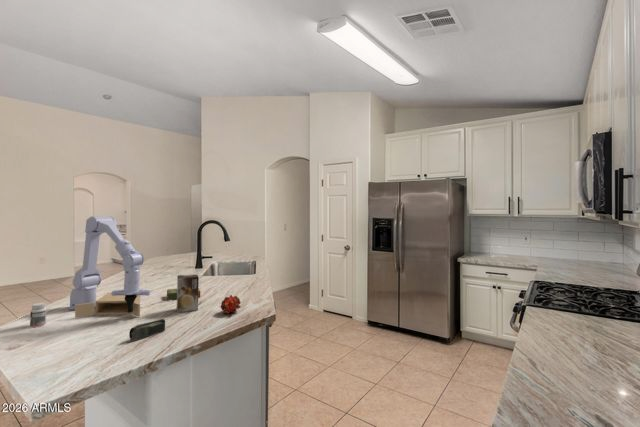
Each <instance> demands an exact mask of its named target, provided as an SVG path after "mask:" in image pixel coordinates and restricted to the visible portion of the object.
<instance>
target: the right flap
mask: <svg viewBox="0 0 640 427" xmlns="http://www.w3.org/2000/svg"><path fill="white" fill-rule="evenodd" d="M129 315H132V316H135V317H138V318H140V317H141V303H140V304H138V303H135V302H134V303H133V311H132V312H131V313H130V314H129Z"/></svg>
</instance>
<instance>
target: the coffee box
mask: <svg viewBox="0 0 640 427" xmlns="http://www.w3.org/2000/svg"><path fill="white" fill-rule="evenodd" d="M199 279H200V278H199V275H198V274H196V273H195V274H180V275H177V288H176V289H177V299H176V311H177V313H181V312H192V311H193V312H194V311H199V298H198V288H199V281H200V280H199Z"/></svg>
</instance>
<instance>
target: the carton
mask: <svg viewBox="0 0 640 427" xmlns="http://www.w3.org/2000/svg"><path fill="white" fill-rule="evenodd" d="M166 298H167V301H172V300H173V301H175V300H176V301H177V288H173V289H171V288H170V289H169V288H168V289H167V290H166ZM199 298H201V289H200V288H199V287H198V299H199Z"/></svg>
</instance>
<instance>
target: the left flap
mask: <svg viewBox="0 0 640 427" xmlns="http://www.w3.org/2000/svg"><path fill="white" fill-rule="evenodd" d="M94 305H95V302H94V303H85V304H77V305H75V310H74V318H75V319H76V318H81V317H83V318H84V317H89V316H94V315H95V308H94Z"/></svg>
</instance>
